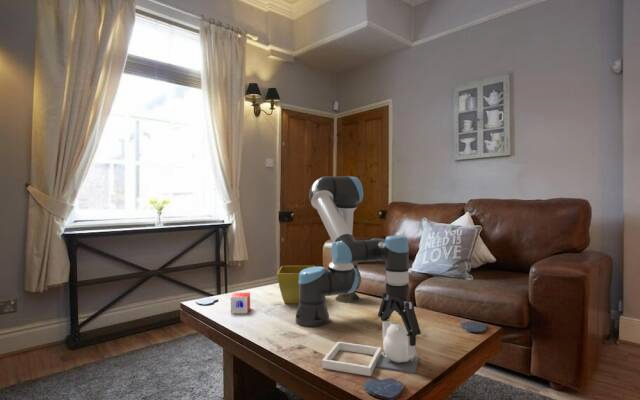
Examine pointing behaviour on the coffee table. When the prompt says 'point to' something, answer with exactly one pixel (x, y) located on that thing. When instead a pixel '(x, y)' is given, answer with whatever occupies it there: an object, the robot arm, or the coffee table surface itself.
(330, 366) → the bin frame
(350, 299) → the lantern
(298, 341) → the coffee table surface
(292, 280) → the flower pot
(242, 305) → the red and white cube
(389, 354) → the figurine
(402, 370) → the coaster pad
